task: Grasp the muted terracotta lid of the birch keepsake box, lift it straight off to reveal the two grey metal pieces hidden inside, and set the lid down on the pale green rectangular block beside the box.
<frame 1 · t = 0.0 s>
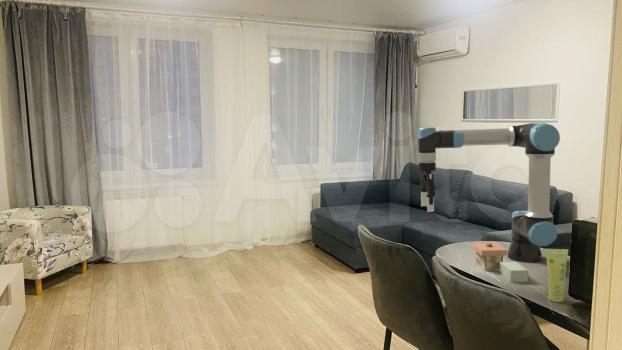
hand: (427, 208, 206), 28 cm above the table, fingers open, 13 cm apart
lid: (489, 251, 208), point 7 cm above the table, touching box
tube: (555, 300, 169), on the table
pale green rectangular block: (513, 277, 194), on the table
box: (489, 266, 209), on the table
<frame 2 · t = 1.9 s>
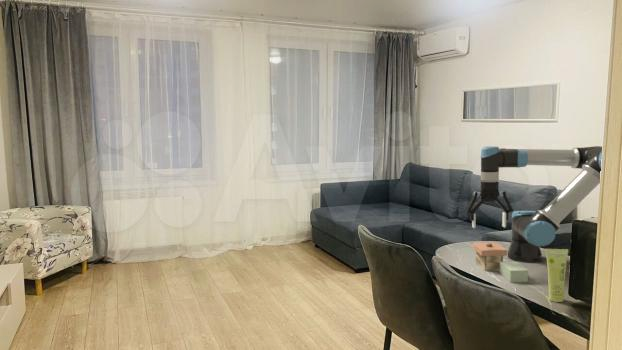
hand: (488, 227, 207), 18 cm above the table, fingers open, 13 cm apart
nothing on the table moved.
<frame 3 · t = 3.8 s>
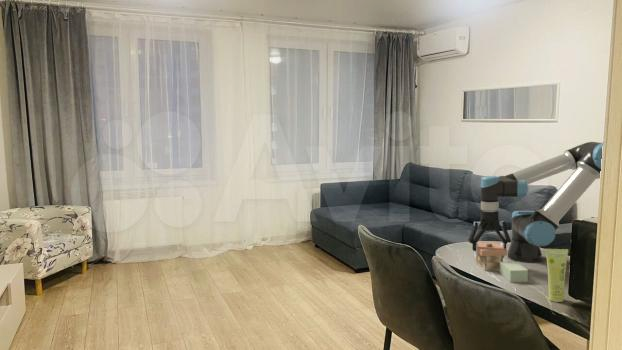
hand: (489, 257, 208), 4 cm above the table, fingers closed on lid, 11 cm apart
lid: (489, 251, 208), point 7 cm above the table, touching box, gripper
everything else where it was.
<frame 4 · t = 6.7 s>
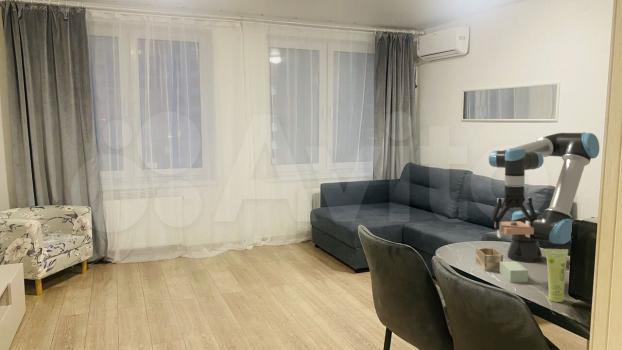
hand: (513, 237, 192), 18 cm above the table, fingers closed on lid, 11 cm apart
lid: (513, 230, 191), point 20 cm above the table, touching gripper
everything else where it was.
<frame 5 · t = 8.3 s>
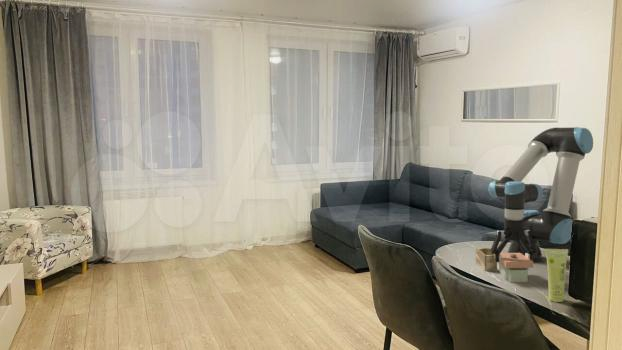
hand: (513, 269, 193), 4 cm above the table, fingers closed on lid, 11 cm apart
lid: (513, 263, 193), point 6 cm above the table, touching gripper
everything else where it was.
when the fingers open (3 cm above the table, at t = 9.4 s): lid stays where it is, resting on pale green rectangular block.
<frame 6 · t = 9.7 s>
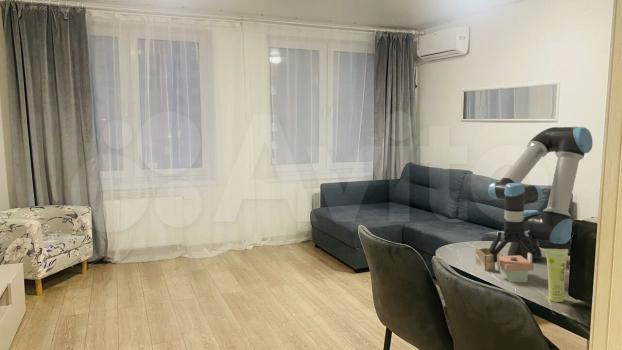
hand: (513, 269, 193), 4 cm above the table, fingers open, 13 cm apart
lid: (513, 265, 193), point 5 cm above the table, touching pale green rectangular block
everything else where it was.
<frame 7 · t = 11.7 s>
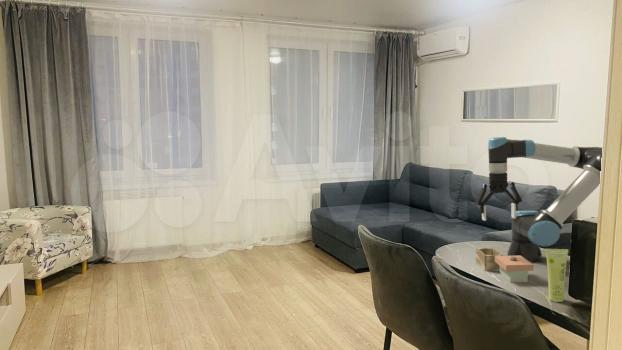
hand: (498, 219, 204), 23 cm above the table, fingers open, 13 cm apart
nothing on the table moved.
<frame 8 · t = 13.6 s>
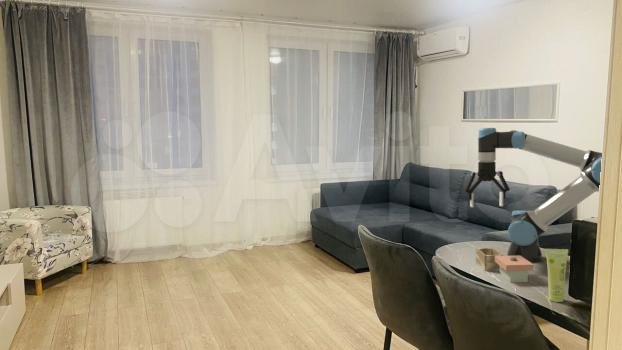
hand: (486, 206, 213), 27 cm above the table, fingers open, 13 cm apart
nothing on the table moved.
at the end: lid inside the target area (0.0 cm from its centre), point 5.0 cm above the table; lid tilted 0°; lid touching pale green rectangular block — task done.
